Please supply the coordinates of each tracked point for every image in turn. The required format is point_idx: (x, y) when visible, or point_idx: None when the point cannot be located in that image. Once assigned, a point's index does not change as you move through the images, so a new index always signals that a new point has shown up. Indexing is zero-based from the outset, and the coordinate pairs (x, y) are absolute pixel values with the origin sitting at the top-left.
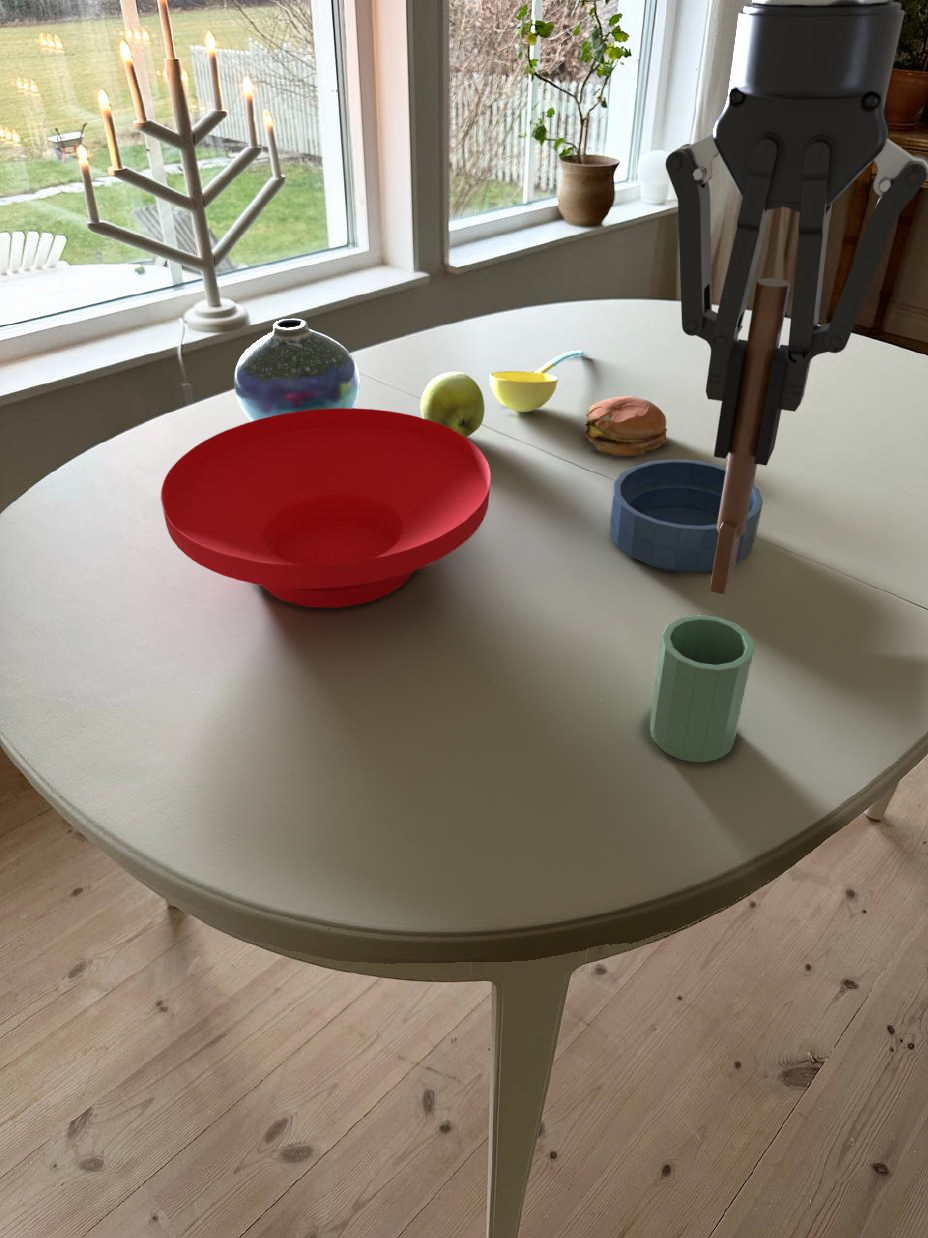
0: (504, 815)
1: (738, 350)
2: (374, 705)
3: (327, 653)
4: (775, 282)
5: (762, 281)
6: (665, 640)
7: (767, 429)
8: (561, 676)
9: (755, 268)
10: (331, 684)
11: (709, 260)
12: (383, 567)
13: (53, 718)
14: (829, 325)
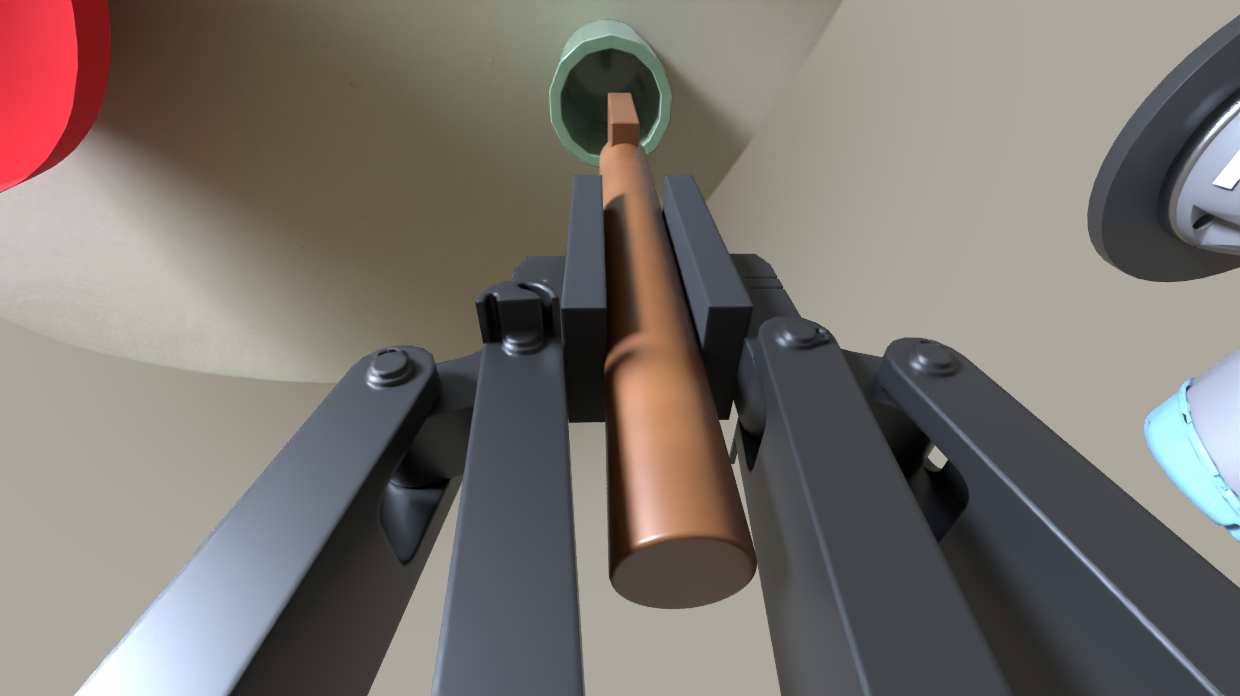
0: (486, 259)
1: (586, 391)
2: (278, 181)
3: (144, 118)
4: (692, 573)
5: (634, 577)
6: (558, 130)
7: None
8: (422, 30)
9: (575, 561)
10: (208, 170)
11: (310, 615)
12: (88, 100)
13: (62, 318)
14: (883, 428)
